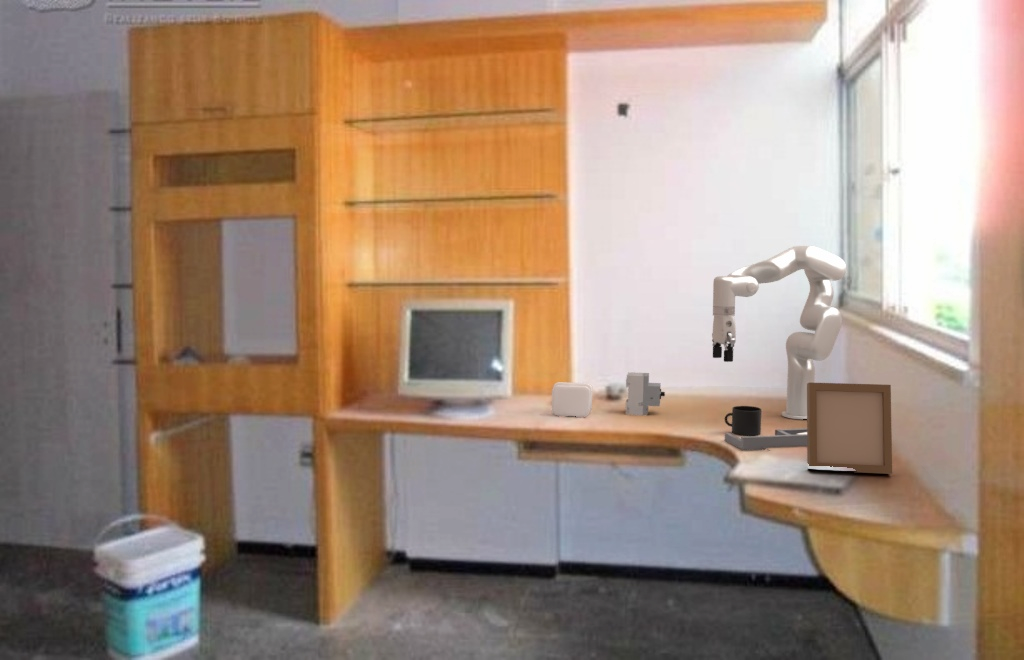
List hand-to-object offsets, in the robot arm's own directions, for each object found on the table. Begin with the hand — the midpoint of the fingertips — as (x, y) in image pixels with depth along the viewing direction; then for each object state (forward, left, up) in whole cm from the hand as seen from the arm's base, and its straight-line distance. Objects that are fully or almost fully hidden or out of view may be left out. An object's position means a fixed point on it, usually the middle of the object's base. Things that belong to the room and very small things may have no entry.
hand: (722, 359), depth 301 cm
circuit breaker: (+21, -23, -24) cm, 39 cm away
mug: (0, +16, -24) cm, 29 cm away
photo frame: (-10, +62, -24) cm, 68 cm away
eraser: (-16, +29, -23) cm, 40 cm away
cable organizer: (+49, -26, -24) cm, 60 cm away
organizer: (-6, +31, -23) cm, 39 cm away
